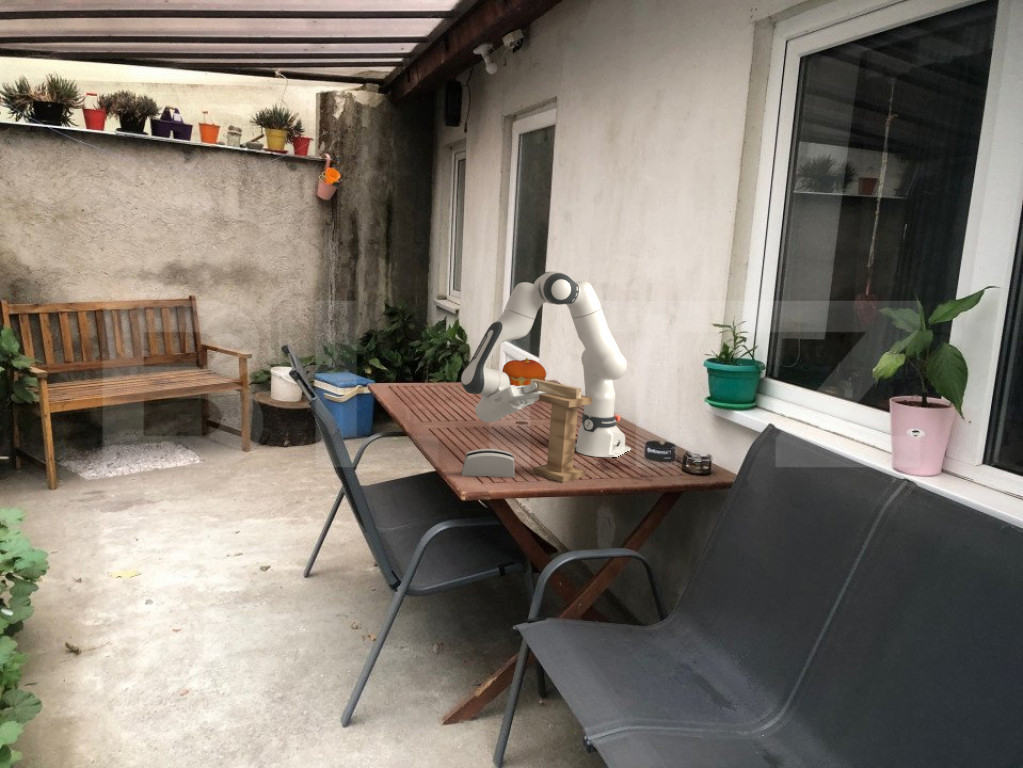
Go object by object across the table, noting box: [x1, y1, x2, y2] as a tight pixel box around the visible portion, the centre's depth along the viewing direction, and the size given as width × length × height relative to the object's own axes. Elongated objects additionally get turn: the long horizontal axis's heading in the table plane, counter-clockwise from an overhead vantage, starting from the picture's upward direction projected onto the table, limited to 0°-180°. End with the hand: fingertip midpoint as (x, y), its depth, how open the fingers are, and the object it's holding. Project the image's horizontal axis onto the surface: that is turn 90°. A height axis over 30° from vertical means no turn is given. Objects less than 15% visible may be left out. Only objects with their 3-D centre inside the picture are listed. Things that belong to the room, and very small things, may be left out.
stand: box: [532, 393, 592, 484], centre depth 233 cm, size 12×12×26 cm
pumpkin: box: [502, 357, 547, 386], centre depth 364 cm, size 23×23×20 cm
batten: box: [530, 379, 582, 399], centre depth 233 cm, size 2×19×3 cm, turn 48°
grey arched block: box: [461, 448, 516, 478], centre depth 228 cm, size 17×5×10 cm, turn 97°
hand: (541, 384), depth 237 cm, fingers closed on batten, 2 cm apart
